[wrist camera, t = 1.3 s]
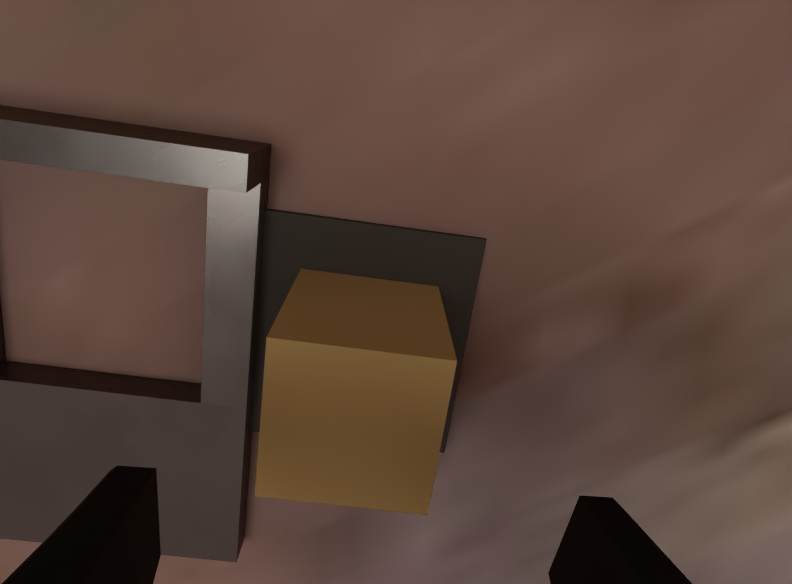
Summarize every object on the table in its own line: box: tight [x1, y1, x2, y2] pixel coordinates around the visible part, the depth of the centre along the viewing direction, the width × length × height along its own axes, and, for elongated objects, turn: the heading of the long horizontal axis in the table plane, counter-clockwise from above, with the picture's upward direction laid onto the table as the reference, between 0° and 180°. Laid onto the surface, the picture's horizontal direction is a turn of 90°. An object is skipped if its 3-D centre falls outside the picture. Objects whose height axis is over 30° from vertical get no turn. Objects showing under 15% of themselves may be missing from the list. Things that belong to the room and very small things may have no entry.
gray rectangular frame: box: [0, 105, 271, 562], centre depth 18 cm, size 15×10×3 cm, turn 172°
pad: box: [251, 209, 486, 453], centre depth 20 cm, size 8×7×1 cm
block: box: [255, 269, 457, 515], centre depth 17 cm, size 4×4×6 cm
